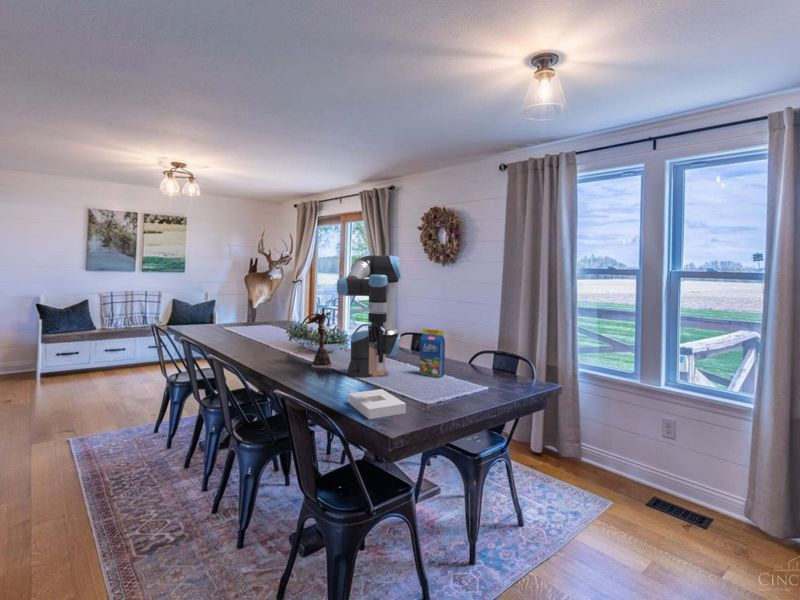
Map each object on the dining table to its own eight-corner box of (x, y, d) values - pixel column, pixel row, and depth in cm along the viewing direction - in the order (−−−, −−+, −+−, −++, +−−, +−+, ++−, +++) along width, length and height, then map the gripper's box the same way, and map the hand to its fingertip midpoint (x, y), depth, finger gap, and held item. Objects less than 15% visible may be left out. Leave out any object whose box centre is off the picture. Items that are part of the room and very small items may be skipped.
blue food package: (439, 378, 224) (440, 331, 222) (419, 374, 230) (420, 329, 228) (444, 375, 229) (445, 330, 227) (424, 372, 235) (425, 328, 233)
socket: (348, 402, 180) (348, 393, 180) (382, 397, 188) (382, 389, 187) (369, 419, 161) (369, 409, 160) (405, 413, 168) (405, 403, 168)
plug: (368, 373, 174) (369, 342, 173) (379, 372, 177) (380, 341, 176) (373, 376, 170) (374, 344, 169) (384, 374, 172) (385, 343, 171)
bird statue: (299, 365, 246) (299, 305, 243) (315, 361, 256) (315, 304, 254) (319, 369, 236) (319, 307, 234) (335, 365, 247) (336, 306, 244)
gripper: (360, 310, 177) (359, 364, 179) (378, 315, 161) (377, 374, 163) (376, 310, 181) (375, 363, 183) (395, 314, 165) (394, 372, 167)
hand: (376, 368), depth 173 cm, fingers closed on plug, 5 cm apart
